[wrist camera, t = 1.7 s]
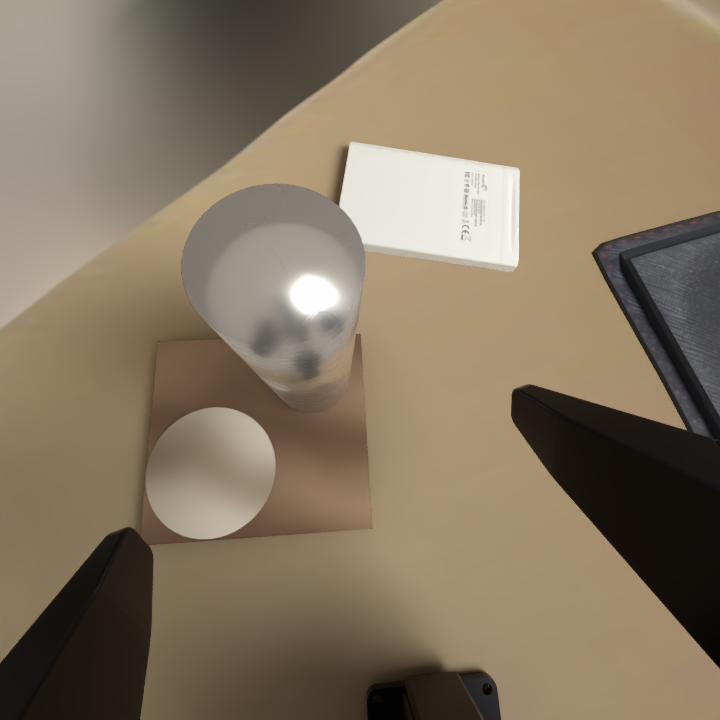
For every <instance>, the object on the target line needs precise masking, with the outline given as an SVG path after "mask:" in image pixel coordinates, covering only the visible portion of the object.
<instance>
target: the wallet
mask: <svg viewBox="0 0 720 720" xmlns="http://www.w3.org/2000/svg"><path fill="white" fill-rule="evenodd" d="M592 254H593V256H594V258H595V260H596V262H597V264H598V266H599V268H600V270H601V272H602V274H603V276H604V278H605V280H606V282H607V284H608V286H609V287H610V289H611V291H612V293H613V295H614V297H615V298H616V300H617V302H618V304H619V306H620V307H621V309H622V311H623V313H624V315H625V316H626V318H627V320H628V322H629V323H630V325H631V327H632V329H633V331H634V332H635V334H636V336H637V338H638V339H639V341H640V343H641V345H642V347H643V348H644V350H645V352H646V354H647V355H648V357H649V359H650V361H651V363H652V364H653V366H654V368H655V370H656V371H657V373H658V375H659V377H660V379H661V380H662V382H663V384H664V386H665V388H666V390H667V392H668V394H669V396H670V397H671V399H672V401H673V403H674V405H675V407H676V409H677V411H678V413H679V414H680V416H681V418H682V420H683V422H684V424H685V426H686V428H687V430H688V431H690V432H694V433H697V434H700V435H704V436H707V437H710V438H712V439H713V440H720V211H717V212H714V213H710V214H706V215H702V216H699V217H695V218H691V219H687V220H683V221H680V222H676V223H672V224H668V225H665V226H661V227H657V228H654V229H650V230H646V231H642V232H639V233H635V234H631V235H628V236H624V237H621V238H618V239H614V240H611V241H608V242H605V243H602V244H601V245H600V246H599V247H598V248H597V249H596V250H595V251H594V252H593V253H592Z"/></svg>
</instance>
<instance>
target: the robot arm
mask: <svg viewBox="0 0 720 720" xmlns="http://www.w3.org/2000/svg"><path fill="white" fill-rule="evenodd" d="M511 416H512V420H513V422H514V424H515V425H516V427H517V428H518V430H519V431H520V433H521V434H522V435H523V437H524V438H525V440H526V441H527V442H528V444H529V445H530V447H531V448H532V449H533V451H534V452H535V454H536V455H537V457H538V458H539V459H540V461H541V462H542V464H543V465H544V466H545V468H546V469H547V470H548V472H549V473H550V474H551V476H552V477H553V478H554V479H555V480H556V482H557V483H558V484H559V485H560V486H561V487H562V489H563V490H564V491H565V492H566V493H567V494H568V495H569V497H570V498H571V499H572V500H573V501H574V502H575V503H576V505H577V506H578V507H579V508H580V509H581V510H582V511H583V513H584V514H585V515H586V516H587V517H588V518H589V519H590V521H591V522H592V523H593V524H594V525H595V526H596V528H597V529H598V530H599V531H600V532H601V533H602V534H603V536H604V537H605V538H606V539H607V540H608V541H609V542H610V544H611V545H612V546H613V547H614V548H615V549H616V550H617V552H618V553H619V554H620V555H621V556H622V557H623V558H624V560H625V561H626V562H627V563H628V564H629V565H630V566H631V568H632V569H633V570H634V571H635V572H636V573H637V574H638V576H639V577H640V578H641V579H642V580H643V581H644V582H645V584H646V585H647V586H648V587H649V588H650V589H651V591H652V592H653V593H654V594H655V595H656V596H657V597H658V599H659V600H660V601H661V602H662V603H663V604H664V605H665V607H666V608H667V609H668V610H669V611H670V612H671V613H672V615H673V616H674V617H675V618H676V619H677V620H678V621H679V623H680V624H681V625H682V626H683V627H684V628H685V629H686V631H687V632H688V633H689V634H690V635H691V636H692V637H693V639H694V640H695V641H696V642H697V643H698V644H699V645H700V647H701V648H702V649H703V650H704V651H705V652H706V654H707V655H708V656H709V657H710V658H711V659H712V660H713V662H714V663H715V664H716V665H717V666H718V667H719V668H720V440H713V439H712V438H710V437H707V436H704V435H700V434H697V433H694V432H690V431H687V430H683V429H680V428H677V427H673V426H670V425H666V424H663V423H660V422H656V421H653V420H650V419H646V418H643V417H639V416H636V415H633V414H629V413H626V412H623V411H619V410H616V409H612V408H609V407H606V406H602V405H599V404H596V403H592V402H589V401H585V400H582V399H579V398H575V397H572V396H568V395H565V394H562V393H558V392H555V391H552V390H548V389H545V388H541V387H538V386H535V385H531V384H527V385H524V386H521V387H518V388H516V389H514V390H513V392H512V403H511ZM152 591H153V553H152V550H151V548H150V546H149V545H148V544H147V543H146V542H145V541H144V540H143V538H142V537H141V536H140V535H139V534H138V533H137V532H136V531H135V530H134V529H133V528H131V527H126V528H123V529H121V530H118V531H115V532H112V533H110V534H108V535H107V536H106V537H105V538H104V539H103V541H102V542H101V543H100V544H99V545H98V547H97V548H96V549H95V550H94V551H93V553H92V554H91V555H90V556H89V557H88V559H87V560H86V561H85V562H84V563H83V565H82V566H81V567H80V568H79V569H78V571H77V572H76V573H75V574H74V575H73V577H72V578H71V579H70V580H69V581H68V583H67V584H66V585H65V586H64V587H63V589H62V590H61V591H60V592H59V593H58V595H57V596H56V597H55V598H54V599H53V601H52V602H51V603H50V604H49V605H48V607H47V608H46V609H45V610H44V611H43V613H42V614H41V615H40V616H39V617H38V619H37V620H36V621H35V622H34V623H33V625H32V626H31V627H30V628H29V629H28V631H27V632H26V633H25V634H24V635H23V637H22V638H21V639H20V640H19V641H18V643H17V644H16V645H15V646H14V647H13V649H12V650H11V651H10V652H9V653H8V655H7V656H6V657H5V658H4V659H3V661H2V662H1V663H0V720H140V715H141V707H142V700H143V692H144V685H145V677H146V670H147V662H148V655H149V647H150V638H151V624H152ZM486 683H488V684H489V687H488V689H487V690H485V691H484V690H482V687H483V685H484V684H486ZM375 695H380V696H381V699H380V701H379V702H374V701H373V700H372V698H373V697H374V696H375ZM366 701H367V720H501V716H500V708H499V700H498V692H497V687H496V684H495V682H494V681H493V679H492V678H491V676H490V675H488V674H487V673H475V674H466V675H458V674H457V673H456V672H447V673H437V674H428V675H418V676H409V677H408V678H407V679H406V680H405V681H399V682H389V683H380V684H374V685H372V686H371V687H370V688H369V689H368V691H367V695H366Z"/></svg>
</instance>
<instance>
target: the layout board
mask: <svg viewBox="0 0 720 720" xmlns="http://www.w3.org/2000/svg"><path fill="white" fill-rule="evenodd" d="M359 529H372V517H371V501H370V484H369V468H368V451H367V435H366V418H365V401H364V385H363V368H362V352H361V335H360V334H356V337H355V344H354V351H353V357H352V364H351V371H350V378H349V384H348V388H347V390H346V393H345V394H344V396H343V398H342V399H341V400H340V401H339V402H338V403H337V404H336V405H335V406H333V407H332V408H330V409H328V410H326V411H323V412H320V413H303V412H299V411H297V410H294V409H292V408H291V407H289V406H288V405H287V404H286V403H285V402H284V401H283V400H282V399H281V398H280V397H279V396H278V395H277V394H276V393H275V392H274V391H273V390H272V389H271V388H270V387H269V386H268V385H267V384H266V383H265V382H264V381H263V380H262V379H261V378H260V377H259V376H258V375H257V374H256V373H255V372H254V371H253V370H252V369H251V368H250V367H249V366H248V365H247V364H246V363H245V361H244V360H243V359H242V358H241V357H240V356H239V355H238V354H237V353H236V352H235V351H234V350H233V349H232V348H231V347H230V346H229V345H228V344H227V343H226V342H225V341H224V340H223V339H211V340H182V341H158V346H157V357H156V368H155V379H154V390H153V401H152V412H151V423H150V434H149V445H148V456H147V467H146V477H145V488H144V499H143V510H142V521H141V532H140V536H141V537H142V538H143V540H144V541H145V542H146V543H147V544H148V545H155V544H169V543H182V542H196V541H209V540H223V539H237V538H250V537H264V536H277V535H291V534H304V533H318V532H332V531H345V530H359Z"/></svg>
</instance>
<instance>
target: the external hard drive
mask: <svg viewBox="0 0 720 720" xmlns="http://www.w3.org/2000/svg"><path fill="white" fill-rule="evenodd" d="M519 176H520V173H519V169H518V168H515V167H509V166H501V165H495V164H490V163H483V162H477V161H471V160H465V159H459V158H452V157H446V156H440V155H434V154H427V153H421V152H415V151H409V150H403V149H396V148H389V147H383V146H376V145H370V144H363V143H357V142H350V144H349V150H348V156H347V162H346V167H345V173H344V179H343V185H342V191H341V196H340V202H339V207H340V208H341V209H342V210H343V211H344V212H345V213H346V214H347V215H348V216H349V218H350V219H351V220H352V222H353V223H354V225H355V226H356V228H357V230H358V232H359V234H360V237H361V239H362V243H363V246H364V251H369V252H376V253H383V254H390V255H397V256H403V257H410V258H417V259H424V260H431V261H437V262H444V263H451V264H457V265H464V266H471V267H478V268H485V269H492V270H498V271H505V272H512V271H513V270H514V269H515V268H516V267H517V265H518V259H519Z"/></svg>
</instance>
